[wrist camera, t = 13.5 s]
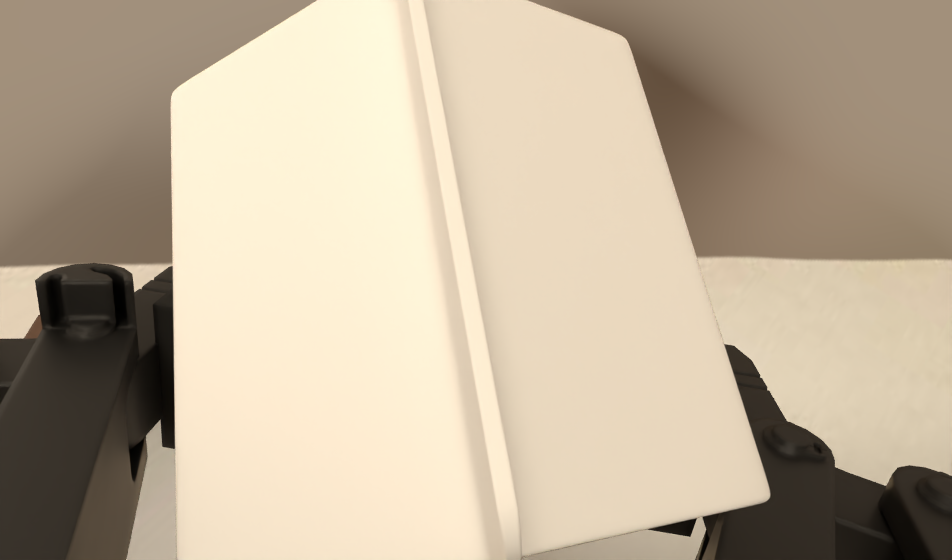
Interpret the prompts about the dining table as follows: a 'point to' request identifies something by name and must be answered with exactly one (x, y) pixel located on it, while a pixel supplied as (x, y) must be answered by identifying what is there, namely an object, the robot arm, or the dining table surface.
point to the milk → (437, 295)
